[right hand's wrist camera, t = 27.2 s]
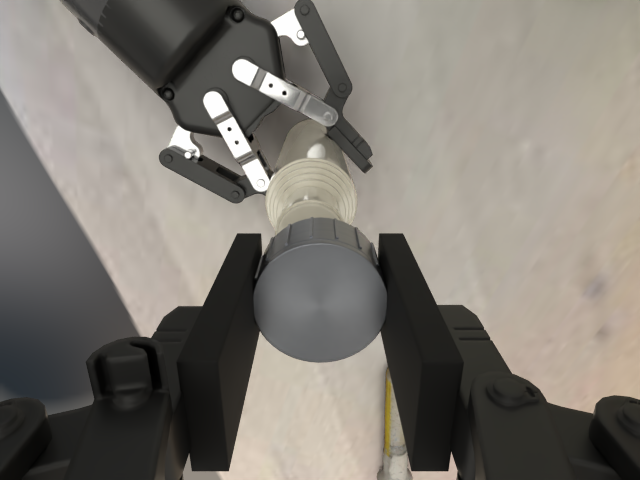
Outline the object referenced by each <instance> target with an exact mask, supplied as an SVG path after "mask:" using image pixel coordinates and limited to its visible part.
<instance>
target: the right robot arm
mask: <svg viewBox="0 0 640 480" xmlns="http://www.w3.org/2000/svg"><path fill="white" fill-rule="evenodd" d="M261 255H262V242H261V234H237V235H236V237H235V239H234V242H233V244H232V246H231V248H230V250H229V252H228V254H227V256H226V258H225V261H224V263H223V265H222V267H221V269H220V271H219V273H218V275H217V277H216V279H215V282H214V284H213V286H212V288H211V290H210V292H209V294H208V296H207V298H206V300H205V303H204V305H203V306H178V307H177V308H175V309H174V310H173V311H171V312H170V313H169V314H167V315H166V316H165V317H164V318H163V319H162V321H161V323H160V324H159V326H158V328H157V331H156V332H155V333H154V334H153V336H152V338H148V337H129V338H124V339H120V340H116V341H114V342H111V343H109V344H106V345H104V346H102V347H101V348H99V349H98V350H97V351H95V352H94V353H92V355H91V356H90V357H89V359H88V360H87V361H86V365H87V369H88V373H89V378H90V382H91V386H92V390H93V395H94V402H93V404H92V405H89V406H86V407H83V408H79V409H75V410H70V411H66V412H61V413H57V414H52V415H47V412H46V408H45V405H44V404H42V403H41V402H40V401H39V400H38V399H33V398H28V397H24V398H14V399H9V400H6V401H2V402H0V480H184V479H183V470H184V467H185V464H186V461H187V458H188V455H189V454H190V461H191V468H192V471H229V468H230V463H231V459H232V454H233V450H234V445H235V441H236V436H237V432H238V427H239V423H240V418H241V414H242V409H243V405H244V400H245V396H246V391H247V387H248V382H249V378H250V373H251V369H252V364H253V360H254V355H255V350H256V346H257V341H258V337H259V332H260V330H259V328H258V326H257V324H256V322H255V318H254V304H253V289H254V286H255V282H256V280H255V275H256V272H257V268H258V265H259V262H260V258H261ZM378 261H379V264H380V268H381V271H382V274H383V278H384V281H385V285H386V288H387V308H386V320H385V323H384V325H383V327H382V329H381V336H382V340H383V345H384V349H385V354H386V358H387V363H388V367H389V372H390V376H391V381H392V385H393V390H394V394H395V399H396V403H397V408H398V412H399V417H400V421H401V426H402V430H403V435H404V439H405V444H406V448H407V453H408V457H409V462H410V466H411V471H448V470H449V463H450V456H451V452H452V455H453V458H454V461H455V464H456V467H457V470H458V473H457V479H456V480H640V400H638V399H635V398H631V397H626V396H615V395H614V396H609V397H604V398H602V399H601V400H600V401H599V402H597V403H596V406H595V409H594V413H593V414H592V413H587V412H583V411H578V410H574V409H569V408H565V407H561V406H557V405H554V404H550V403H548V402H547V401H546V399H545V397H544V396H543V394H542V393H541V391H540V390H539V389H538V388H537V387H536V386H535V385H533V384H532V383H531V382H529V381H528V380H526V379H524V378H521V377H519V376H517V375H515V374H512V373H511V371H510V369H509V368H508V366H507V365H506V363H505V361H504V360H503V358H502V356H501V355H500V353H499V351H498V350H497V348H496V347H495V345H494V343H493V342H492V340H490V337H489V335H488V333H487V332H486V330H484V327H483V325H482V324H481V322H480V320H479V319H478V317H477V316H476V315H475V314H474V313H472V312H471V311H470V310H468V309H467V308H466V307H464V306H463V305H437V304H436V302H435V300H434V298H433V296H432V293H431V291H430V289H429V287H428V285H427V283H426V281H425V279H424V277H423V275H422V272H421V270H420V268H419V266H418V264H417V262H416V260H415V258H414V256H413V254H412V251H411V249H410V247H409V245H408V243H407V241H406V239H405V237H404V235H403V234H379V248H378Z"/></svg>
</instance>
